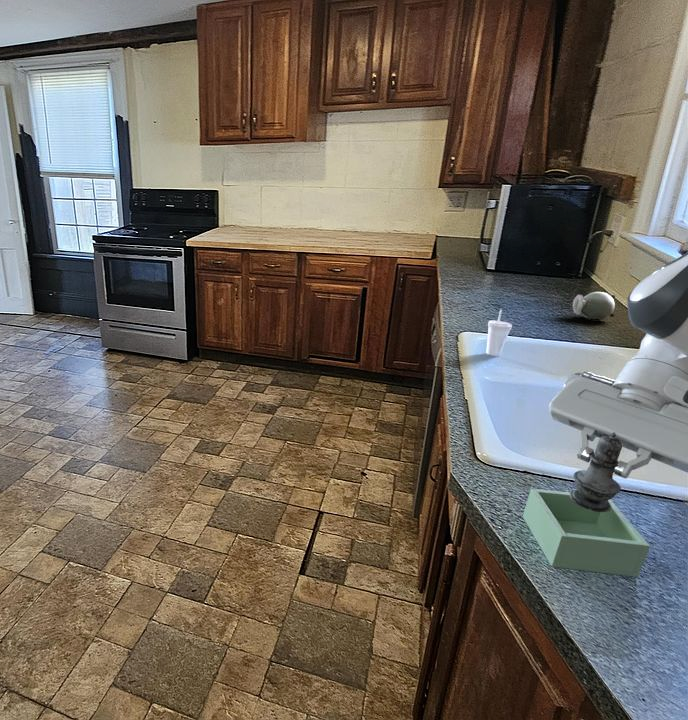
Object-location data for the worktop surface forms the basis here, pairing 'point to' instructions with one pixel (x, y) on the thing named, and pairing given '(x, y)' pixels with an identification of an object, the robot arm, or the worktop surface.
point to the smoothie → (497, 335)
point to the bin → (584, 535)
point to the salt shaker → (598, 477)
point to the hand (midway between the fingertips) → (600, 467)
